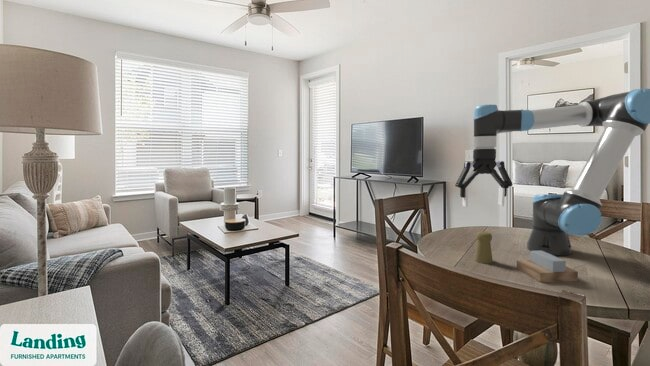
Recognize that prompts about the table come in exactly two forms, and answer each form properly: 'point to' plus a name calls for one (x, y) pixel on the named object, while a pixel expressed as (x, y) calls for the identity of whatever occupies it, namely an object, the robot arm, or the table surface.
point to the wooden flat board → (546, 272)
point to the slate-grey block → (548, 261)
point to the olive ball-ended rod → (484, 248)
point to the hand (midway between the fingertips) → (483, 205)
